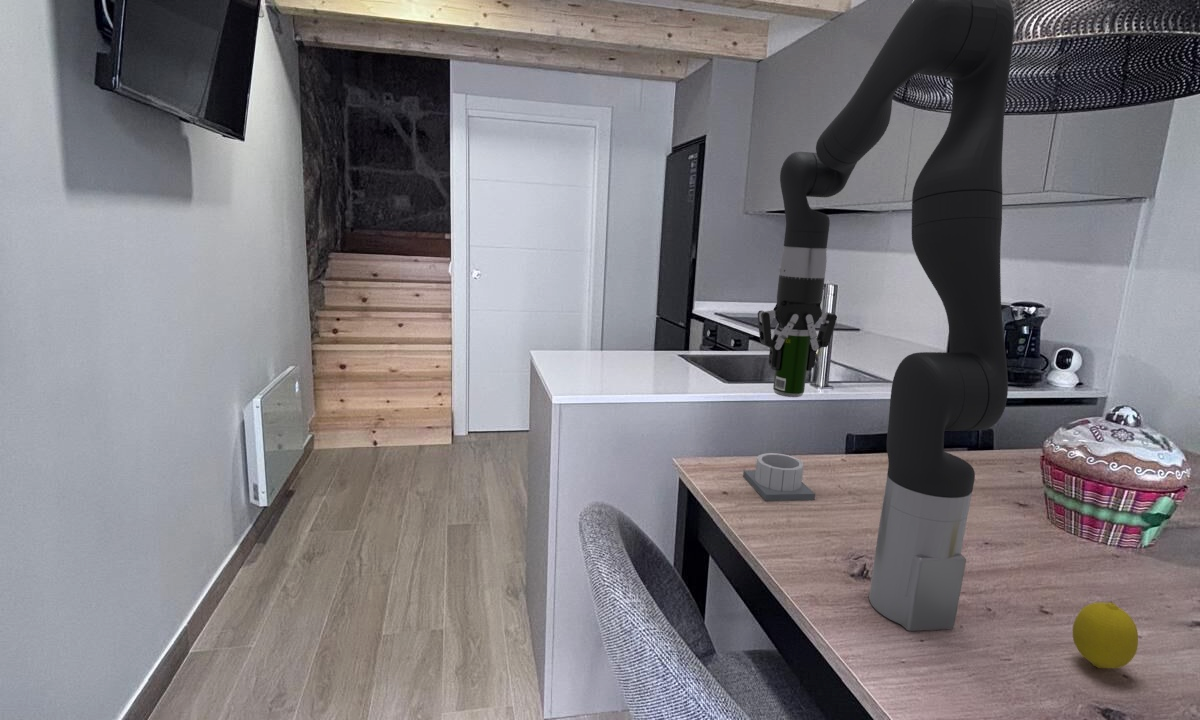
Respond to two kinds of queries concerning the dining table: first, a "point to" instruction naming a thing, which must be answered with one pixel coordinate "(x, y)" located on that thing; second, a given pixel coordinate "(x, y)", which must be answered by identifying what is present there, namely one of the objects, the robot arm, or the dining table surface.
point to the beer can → (793, 364)
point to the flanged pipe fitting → (779, 478)
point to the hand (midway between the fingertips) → (791, 369)
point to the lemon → (1105, 635)
